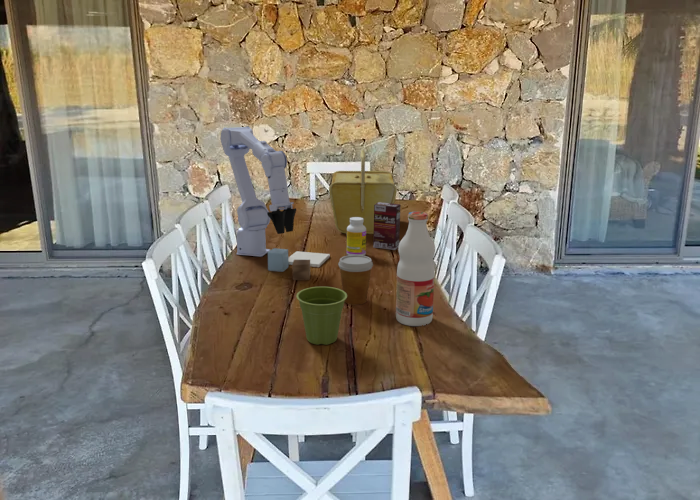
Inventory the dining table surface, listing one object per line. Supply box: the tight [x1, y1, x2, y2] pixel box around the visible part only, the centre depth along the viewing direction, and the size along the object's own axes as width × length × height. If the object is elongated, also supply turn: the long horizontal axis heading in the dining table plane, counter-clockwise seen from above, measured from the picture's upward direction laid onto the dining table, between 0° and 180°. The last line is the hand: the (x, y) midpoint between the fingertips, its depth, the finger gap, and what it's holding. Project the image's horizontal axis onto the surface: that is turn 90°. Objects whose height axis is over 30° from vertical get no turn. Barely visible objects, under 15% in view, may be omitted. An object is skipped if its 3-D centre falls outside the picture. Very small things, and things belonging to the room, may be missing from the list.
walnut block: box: [292, 260, 311, 281], centre depth 193 cm, size 5×5×5 cm
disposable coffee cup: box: [337, 255, 374, 306], centre depth 173 cm, size 10×10×12 cm
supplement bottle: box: [346, 217, 367, 256], centre depth 215 cm, size 7×7×13 cm
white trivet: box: [288, 250, 331, 268], centre depth 210 cm, size 12×12×1 cm
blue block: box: [267, 247, 289, 273], centre depth 201 cm, size 5×5×6 cm
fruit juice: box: [395, 211, 436, 327], centre depth 158 cm, size 9×9×28 cm
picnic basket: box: [328, 148, 398, 235], centre depth 252 cm, size 29×26×30 cm
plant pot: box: [296, 286, 347, 346], centre depth 148 cm, size 12×12×11 cm
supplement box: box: [372, 202, 401, 251], centre depth 224 cm, size 9×5×16 cm, turn 68°
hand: (285, 232), depth 199 cm, fingers open, 7 cm apart
